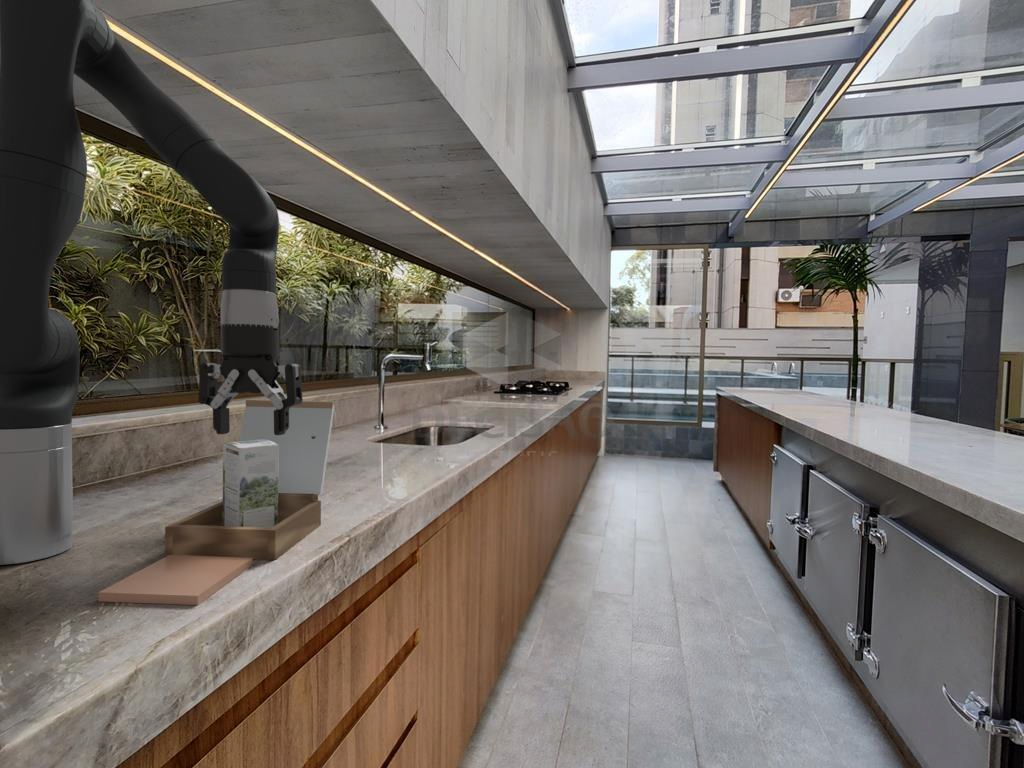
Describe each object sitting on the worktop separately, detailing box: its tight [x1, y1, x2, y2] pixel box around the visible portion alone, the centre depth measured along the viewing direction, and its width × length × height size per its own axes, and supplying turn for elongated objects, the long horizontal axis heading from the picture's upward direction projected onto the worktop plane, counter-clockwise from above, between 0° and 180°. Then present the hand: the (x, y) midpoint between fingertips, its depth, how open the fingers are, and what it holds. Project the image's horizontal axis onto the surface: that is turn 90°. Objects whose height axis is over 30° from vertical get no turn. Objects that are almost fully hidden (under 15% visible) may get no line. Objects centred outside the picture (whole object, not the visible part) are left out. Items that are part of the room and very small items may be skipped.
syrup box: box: [222, 440, 279, 528], centre depth 76 cm, size 6×6×14 cm
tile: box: [98, 555, 254, 606], centre depth 61 cm, size 11×11×1 cm
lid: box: [238, 399, 336, 496], centre depth 86 cm, size 15×6×15 cm, turn 88°
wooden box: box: [164, 436, 322, 561], centre depth 78 cm, size 15×19×14 cm
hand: (251, 434), depth 76 cm, fingers open, 8 cm apart
